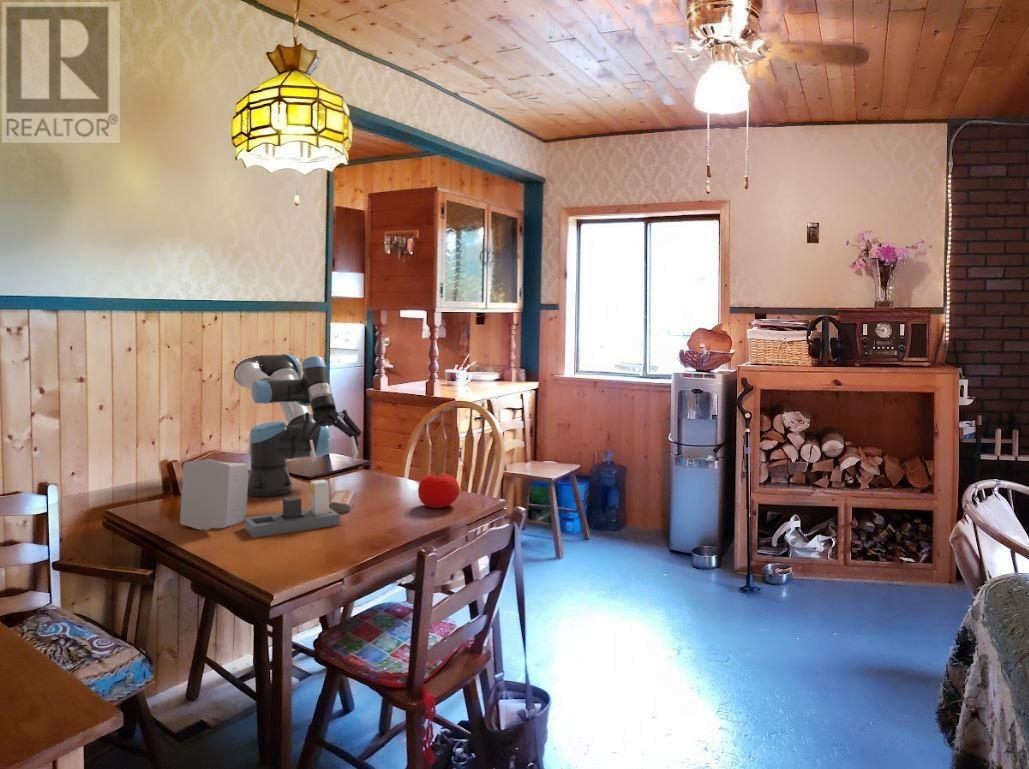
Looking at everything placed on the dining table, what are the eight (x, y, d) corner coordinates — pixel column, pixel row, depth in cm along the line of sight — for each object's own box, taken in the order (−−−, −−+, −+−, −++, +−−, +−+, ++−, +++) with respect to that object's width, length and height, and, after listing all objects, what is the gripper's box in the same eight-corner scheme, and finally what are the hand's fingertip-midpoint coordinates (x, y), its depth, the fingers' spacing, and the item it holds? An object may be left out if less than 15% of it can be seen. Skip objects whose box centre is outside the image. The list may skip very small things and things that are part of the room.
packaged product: (328, 489, 244) (360, 488, 244) (329, 503, 244) (360, 503, 245) (319, 503, 226) (353, 503, 227) (319, 519, 226) (353, 519, 227)
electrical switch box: (255, 525, 225) (258, 458, 226) (225, 532, 211) (229, 460, 211) (211, 521, 228) (215, 455, 229) (179, 528, 214) (183, 457, 215)
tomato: (423, 500, 247) (423, 467, 246) (462, 503, 245) (462, 469, 244) (413, 510, 236) (413, 475, 234) (454, 512, 234) (454, 477, 233)
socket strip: (243, 531, 211) (243, 517, 211) (328, 519, 225) (328, 506, 224) (252, 541, 203) (252, 527, 202) (340, 528, 216) (340, 514, 215)
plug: (308, 522, 218) (307, 481, 217) (324, 519, 221) (324, 479, 219) (312, 525, 215) (312, 484, 213) (329, 523, 217) (328, 482, 216)
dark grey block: (283, 525, 214) (282, 498, 213) (297, 523, 216) (296, 496, 215) (287, 529, 211) (286, 501, 210) (301, 527, 213) (301, 499, 212)
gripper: (286, 396, 238) (298, 456, 229) (361, 392, 251) (376, 449, 242) (281, 407, 243) (293, 467, 235) (355, 403, 257) (369, 459, 248)
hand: (335, 458), depth 238 cm, fingers open, 13 cm apart
